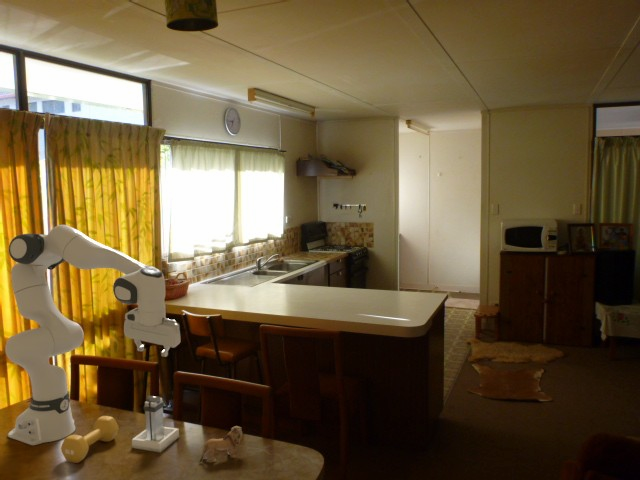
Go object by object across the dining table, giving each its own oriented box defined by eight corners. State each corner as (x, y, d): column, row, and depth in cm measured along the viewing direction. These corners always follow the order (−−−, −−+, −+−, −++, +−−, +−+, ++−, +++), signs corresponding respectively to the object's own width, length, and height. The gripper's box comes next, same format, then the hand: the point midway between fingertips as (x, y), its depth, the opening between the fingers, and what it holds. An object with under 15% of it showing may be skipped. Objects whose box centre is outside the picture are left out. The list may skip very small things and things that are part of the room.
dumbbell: (81, 466, 166) (79, 441, 165) (58, 462, 169) (56, 437, 168) (122, 438, 184) (120, 416, 183) (100, 435, 187) (99, 413, 186)
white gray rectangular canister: (145, 442, 179) (143, 398, 177) (154, 435, 184) (152, 392, 182) (156, 443, 177) (154, 400, 176) (165, 436, 182) (163, 394, 181)
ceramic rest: (132, 447, 177) (131, 439, 177) (152, 433, 188) (151, 424, 187) (160, 452, 174) (160, 443, 173) (179, 436, 184) (178, 428, 184)
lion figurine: (239, 448, 176) (238, 422, 175) (246, 454, 171) (245, 428, 170) (196, 460, 168) (195, 433, 167) (201, 467, 164) (200, 440, 163)
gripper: (184, 317, 177) (184, 355, 181) (132, 307, 183) (133, 343, 187) (173, 324, 172) (174, 363, 175) (120, 313, 177) (121, 351, 181)
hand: (152, 353), depth 181 cm, fingers open, 8 cm apart
